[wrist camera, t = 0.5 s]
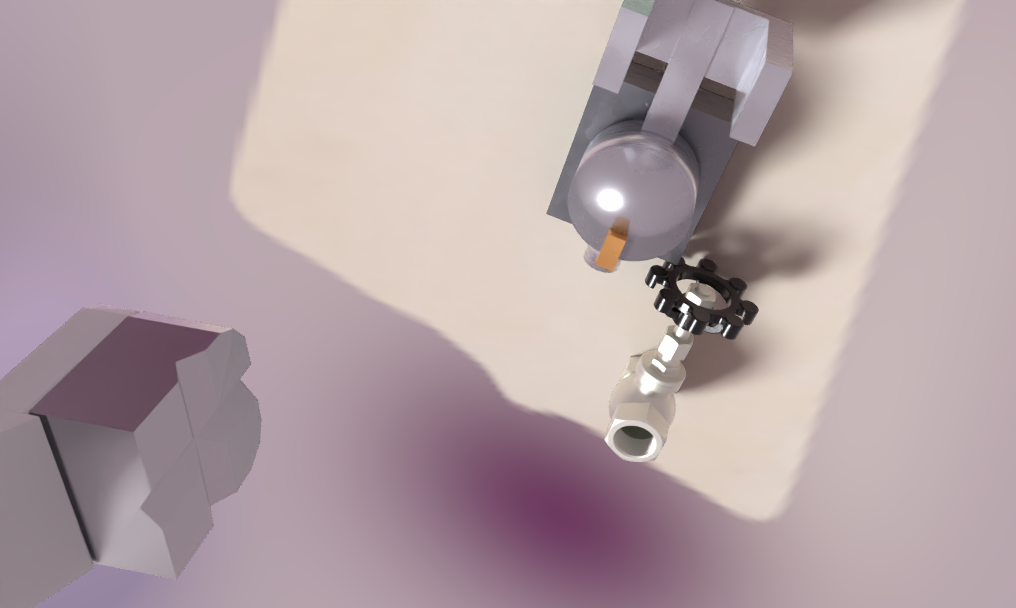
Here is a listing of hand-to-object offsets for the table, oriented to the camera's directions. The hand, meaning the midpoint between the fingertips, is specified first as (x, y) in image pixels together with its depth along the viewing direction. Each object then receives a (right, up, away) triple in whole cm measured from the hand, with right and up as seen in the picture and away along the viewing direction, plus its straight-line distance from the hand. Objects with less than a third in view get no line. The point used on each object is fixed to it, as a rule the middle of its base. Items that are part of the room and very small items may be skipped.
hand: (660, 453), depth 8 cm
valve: (+9, 0, +51) cm, 52 cm away
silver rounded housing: (+7, +11, +39) cm, 41 cm away
